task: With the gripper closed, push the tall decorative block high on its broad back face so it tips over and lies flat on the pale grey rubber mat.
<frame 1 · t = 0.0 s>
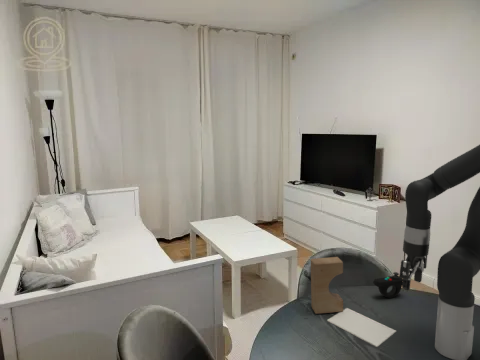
hand: (411, 285, 114), 17 cm above the table, tool pointing down, fingers open, 8 cm apart
controller: (387, 297, 141), on the table
decorative block: (327, 310, 132), on the table, touching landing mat
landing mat: (360, 326, 121), on the table
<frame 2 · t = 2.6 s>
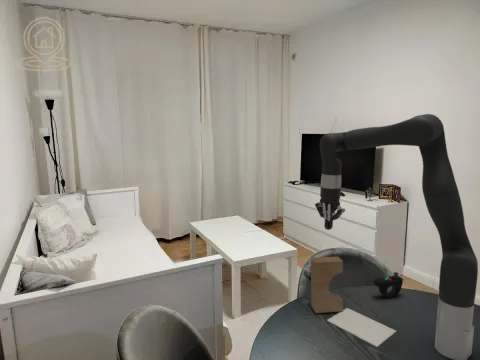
hand: (328, 229, 133), 31 cm above the table, tool pointing down, fingers closed
decorative block: (327, 310, 132), on the table, touching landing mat
everything else where it was.
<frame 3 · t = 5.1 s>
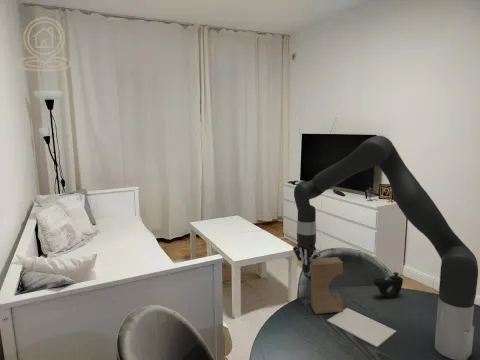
hand: (306, 272, 138), 12 cm above the table, tool pointing down, fingers closed
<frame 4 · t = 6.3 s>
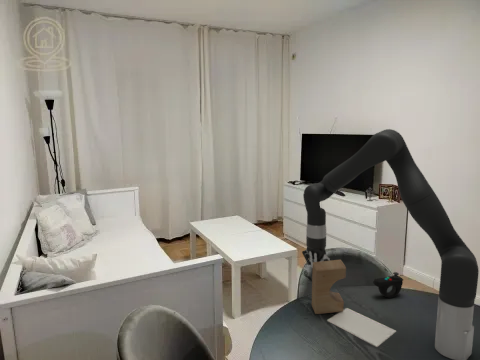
hand: (315, 276, 134), 12 cm above the table, tool pointing down, fingers closed
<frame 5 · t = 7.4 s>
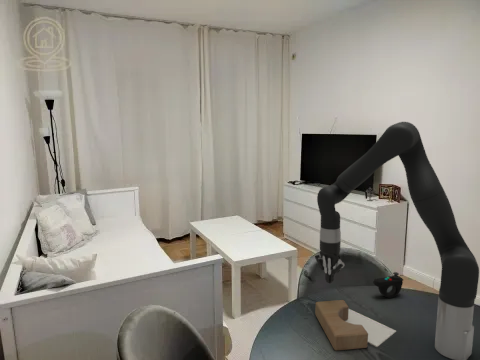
hand: (329, 282, 129), 12 cm above the table, tool pointing down, fingers closed
decorative block: (329, 306, 128), point 3 cm above the table, touching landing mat
everything else where it was.
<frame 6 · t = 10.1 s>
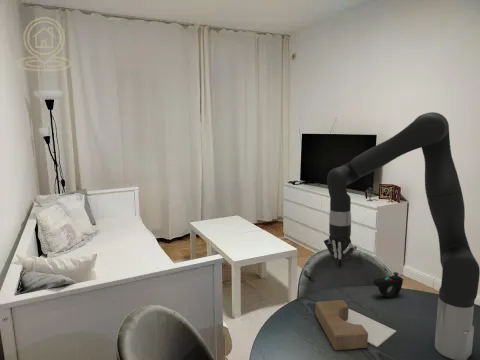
hand: (339, 267, 125), 19 cm above the table, tool pointing down, fingers closed
nothing on the table moved.
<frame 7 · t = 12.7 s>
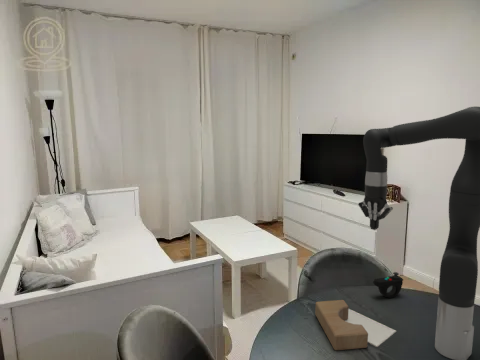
hand: (374, 229, 127), 32 cm above the table, tool pointing down, fingers closed
nothing on the table moved.
at the end: decorative block tilted 92°; decorative block inside the target area (3.7 cm from its centre), point 3.4 cm above the table; decorative block touching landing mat, table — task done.
